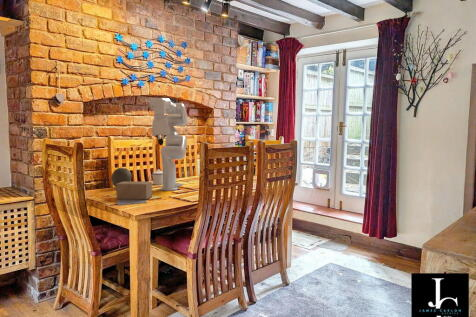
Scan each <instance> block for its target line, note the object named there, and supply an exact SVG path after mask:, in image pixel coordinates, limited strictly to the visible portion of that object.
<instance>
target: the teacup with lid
mask: <svg viewBox="0 0 476 317" xmlns="http://www.w3.org/2000/svg"><path fill="white" fill-rule="evenodd" d="M151 177H152V179H151ZM148 179H149V180H150V181H149V182H152V185H154V186H163V170H160V169H159V168H158V169H156V170H155V171H153V172H152V174H150V175H149V176H148Z"/></svg>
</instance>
